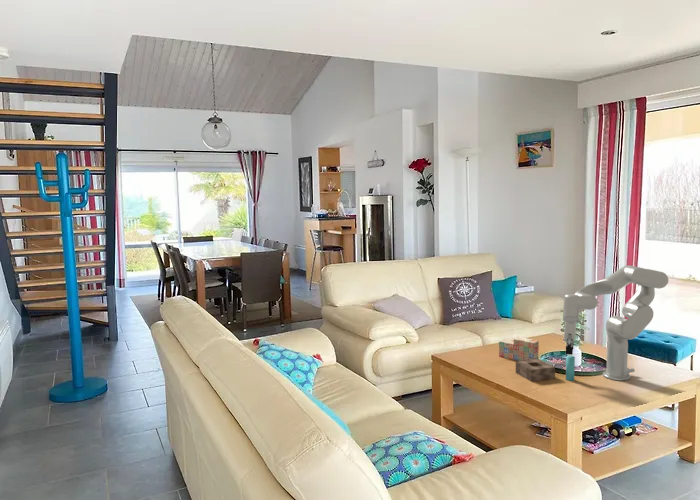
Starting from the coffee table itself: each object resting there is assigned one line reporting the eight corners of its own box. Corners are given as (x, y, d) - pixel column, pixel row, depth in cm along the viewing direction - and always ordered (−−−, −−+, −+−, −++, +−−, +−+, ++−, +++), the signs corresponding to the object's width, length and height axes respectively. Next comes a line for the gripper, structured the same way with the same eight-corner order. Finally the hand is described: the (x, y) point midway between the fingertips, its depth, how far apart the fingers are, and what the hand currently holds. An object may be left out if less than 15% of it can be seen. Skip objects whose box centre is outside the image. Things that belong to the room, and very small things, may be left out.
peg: (570, 377, 274) (571, 355, 272) (575, 380, 270) (576, 357, 269) (564, 378, 273) (564, 356, 271) (569, 381, 269) (569, 358, 268)
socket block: (538, 369, 287) (538, 359, 286) (554, 378, 274) (555, 367, 273) (515, 372, 283) (515, 361, 283) (531, 381, 270) (531, 370, 269)
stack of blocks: (498, 356, 312) (498, 336, 310) (503, 354, 316) (503, 334, 315) (533, 364, 297) (534, 342, 296) (538, 361, 302) (538, 340, 300)
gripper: (563, 314, 277) (562, 346, 279) (562, 321, 262) (560, 355, 263) (579, 315, 274) (577, 348, 276) (578, 323, 259) (576, 357, 260)
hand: (569, 351), depth 270 cm, fingers open, 9 cm apart
